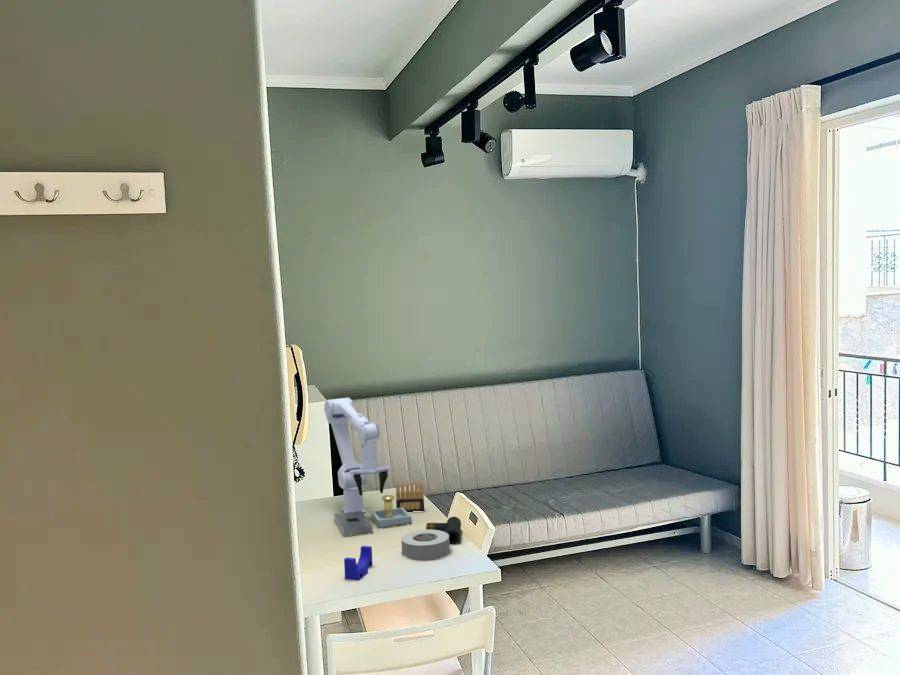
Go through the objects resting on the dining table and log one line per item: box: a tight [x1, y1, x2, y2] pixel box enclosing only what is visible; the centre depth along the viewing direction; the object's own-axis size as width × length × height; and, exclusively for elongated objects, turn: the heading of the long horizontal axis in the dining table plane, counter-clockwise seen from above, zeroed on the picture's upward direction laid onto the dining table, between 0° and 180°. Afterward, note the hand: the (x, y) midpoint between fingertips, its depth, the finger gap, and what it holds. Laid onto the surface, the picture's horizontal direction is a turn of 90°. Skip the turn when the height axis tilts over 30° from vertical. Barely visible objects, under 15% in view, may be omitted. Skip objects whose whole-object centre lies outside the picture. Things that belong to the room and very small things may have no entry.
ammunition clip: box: [395, 480, 426, 513], centre depth 287 cm, size 11×2×12 cm, turn 92°
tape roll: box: [400, 529, 451, 561], centre depth 243 cm, size 15×15×5 cm
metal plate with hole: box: [333, 511, 374, 537], centre depth 271 cm, size 20×10×2 cm, turn 18°
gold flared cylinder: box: [381, 494, 395, 519], centre depth 275 cm, size 4×4×9 cm
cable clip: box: [343, 545, 373, 581], centre depth 228 cm, size 12×4×6 cm, turn 159°
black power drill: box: [425, 516, 462, 545], centre depth 257 cm, size 12×5×15 cm
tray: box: [370, 508, 412, 529], centre depth 276 cm, size 12×12×3 cm
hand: (371, 493), depth 278 cm, fingers open, 7 cm apart
